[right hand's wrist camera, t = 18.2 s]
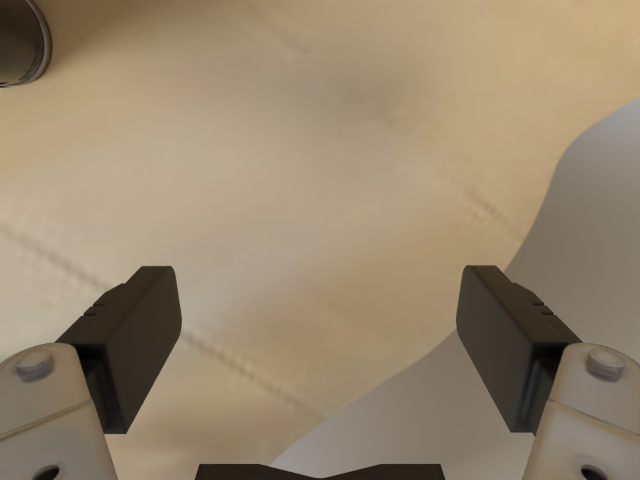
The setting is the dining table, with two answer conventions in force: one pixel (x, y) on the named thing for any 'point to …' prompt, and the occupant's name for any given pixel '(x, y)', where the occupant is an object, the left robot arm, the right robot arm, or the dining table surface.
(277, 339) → the dining table surface
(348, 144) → the dining table surface
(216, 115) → the dining table surface
